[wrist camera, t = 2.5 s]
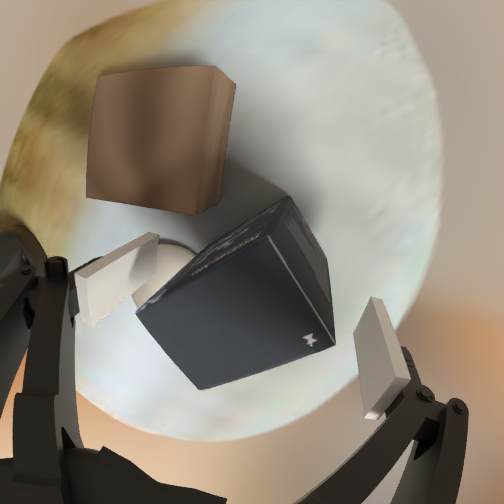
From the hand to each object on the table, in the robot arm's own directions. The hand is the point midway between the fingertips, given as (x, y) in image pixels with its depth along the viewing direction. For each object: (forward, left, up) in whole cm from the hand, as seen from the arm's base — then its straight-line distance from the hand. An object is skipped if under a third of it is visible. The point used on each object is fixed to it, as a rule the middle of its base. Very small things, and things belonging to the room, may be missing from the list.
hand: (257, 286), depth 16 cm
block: (-9, +7, -6) cm, 13 cm away
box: (0, 0, -6) cm, 6 cm away
